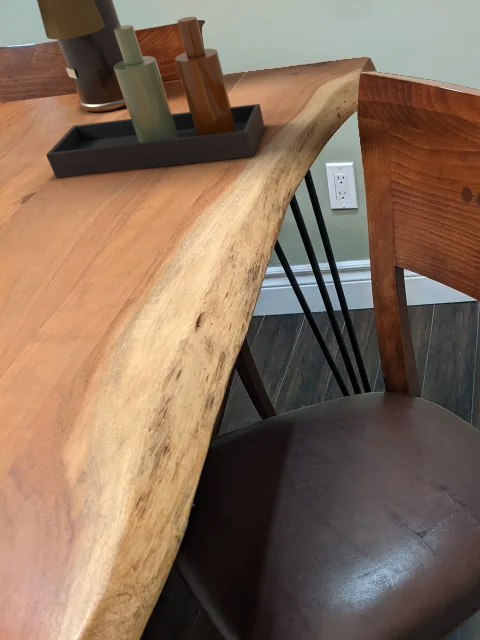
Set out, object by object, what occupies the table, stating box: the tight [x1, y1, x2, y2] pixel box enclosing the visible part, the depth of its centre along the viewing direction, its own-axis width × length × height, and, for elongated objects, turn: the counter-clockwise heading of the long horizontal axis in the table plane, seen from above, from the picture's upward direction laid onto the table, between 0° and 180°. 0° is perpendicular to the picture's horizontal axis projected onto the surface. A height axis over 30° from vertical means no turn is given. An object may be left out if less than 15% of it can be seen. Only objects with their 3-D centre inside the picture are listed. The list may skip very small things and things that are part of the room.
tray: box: [45, 103, 265, 179], centre depth 87 cm, size 25×10×3 cm, turn 89°
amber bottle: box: [174, 16, 237, 136], centre depth 82 cm, size 5×5×12 cm
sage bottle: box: [113, 24, 179, 143], centre depth 83 cm, size 5×5×12 cm
